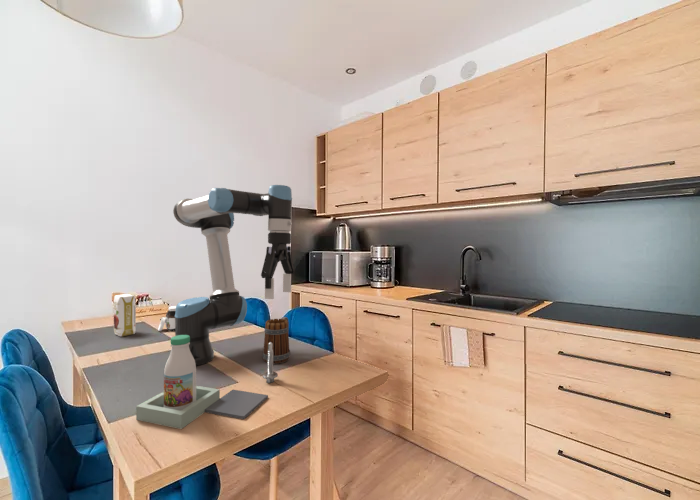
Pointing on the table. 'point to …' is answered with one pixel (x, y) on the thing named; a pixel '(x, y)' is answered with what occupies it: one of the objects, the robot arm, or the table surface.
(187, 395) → the milk bottle
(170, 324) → the spread jar
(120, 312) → the juice carton
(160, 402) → the collar
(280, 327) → the mug
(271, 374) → the screw
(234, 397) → the plate
